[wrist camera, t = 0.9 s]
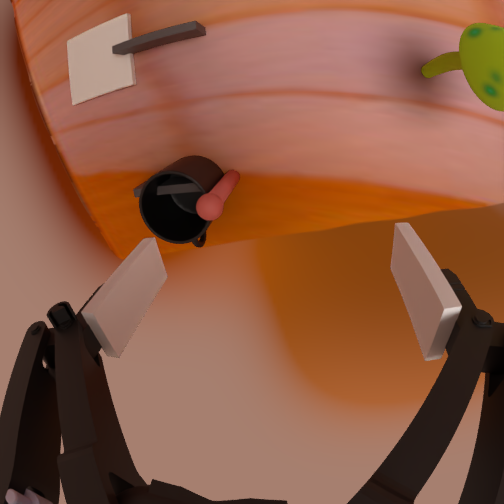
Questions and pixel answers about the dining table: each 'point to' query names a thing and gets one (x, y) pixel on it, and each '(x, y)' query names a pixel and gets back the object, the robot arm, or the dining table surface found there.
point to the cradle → (208, 203)
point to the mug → (179, 201)
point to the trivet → (100, 60)
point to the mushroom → (477, 62)
